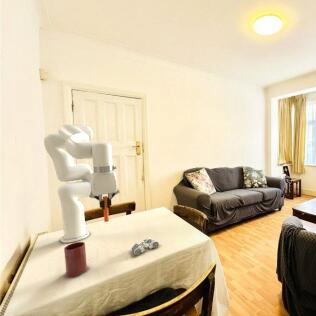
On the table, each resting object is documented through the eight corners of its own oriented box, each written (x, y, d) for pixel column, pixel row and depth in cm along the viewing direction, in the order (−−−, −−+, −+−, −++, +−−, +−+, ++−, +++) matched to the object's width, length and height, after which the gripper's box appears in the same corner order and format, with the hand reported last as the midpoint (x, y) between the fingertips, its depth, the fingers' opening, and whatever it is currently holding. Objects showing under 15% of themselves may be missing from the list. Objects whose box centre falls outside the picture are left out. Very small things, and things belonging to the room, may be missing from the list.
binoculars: (135, 256, 96) (134, 249, 96) (128, 250, 101) (128, 243, 101) (159, 246, 105) (158, 239, 105) (151, 241, 110) (151, 235, 110)
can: (66, 271, 85) (63, 245, 84) (85, 264, 90) (83, 240, 89) (66, 279, 80) (64, 252, 79) (87, 272, 85) (85, 246, 84)
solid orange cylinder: (104, 221, 96) (102, 196, 95) (108, 220, 97) (106, 195, 96) (104, 222, 95) (103, 197, 93) (109, 221, 96) (107, 196, 95)
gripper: (120, 167, 102) (122, 202, 103) (81, 170, 91) (83, 210, 93) (124, 168, 96) (126, 206, 98) (83, 172, 85) (86, 214, 87)
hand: (105, 207), depth 95 cm, fingers closed on solid orange cylinder, 1 cm apart
